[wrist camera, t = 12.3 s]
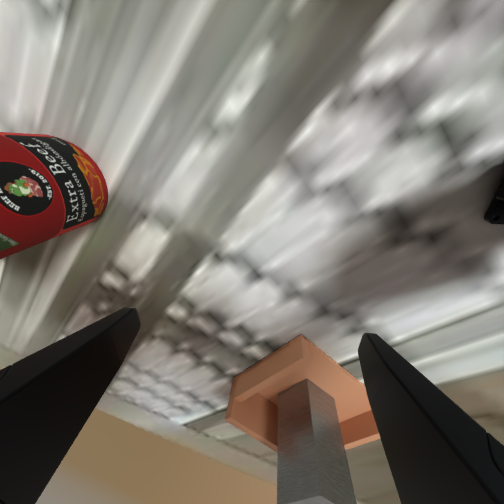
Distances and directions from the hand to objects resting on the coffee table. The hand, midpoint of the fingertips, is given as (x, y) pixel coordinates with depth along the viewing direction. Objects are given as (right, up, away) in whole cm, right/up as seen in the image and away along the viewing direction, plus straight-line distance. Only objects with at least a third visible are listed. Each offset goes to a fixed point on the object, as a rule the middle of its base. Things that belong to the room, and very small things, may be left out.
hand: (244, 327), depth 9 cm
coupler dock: (+8, -15, +20) cm, 26 cm away
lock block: (+7, -16, +19) cm, 26 cm away
